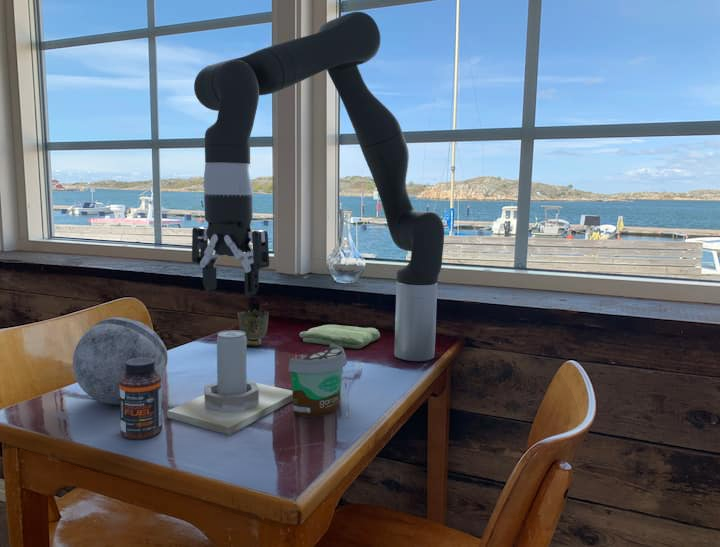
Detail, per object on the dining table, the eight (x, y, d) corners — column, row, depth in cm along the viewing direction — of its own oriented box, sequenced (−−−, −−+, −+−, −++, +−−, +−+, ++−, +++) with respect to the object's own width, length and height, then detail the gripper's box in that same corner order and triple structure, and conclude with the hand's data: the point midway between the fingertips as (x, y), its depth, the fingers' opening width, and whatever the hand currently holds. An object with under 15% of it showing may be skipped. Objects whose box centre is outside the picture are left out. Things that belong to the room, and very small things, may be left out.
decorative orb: (182, 391, 102) (180, 311, 100) (135, 422, 88) (132, 330, 86) (110, 384, 105) (107, 306, 103) (54, 413, 91) (49, 324, 89)
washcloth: (322, 331, 151) (322, 320, 150) (382, 340, 143) (382, 327, 143) (296, 342, 139) (296, 330, 139) (360, 352, 132) (360, 339, 131)
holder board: (240, 385, 106) (240, 366, 106) (296, 398, 100) (296, 378, 100) (167, 417, 90) (167, 395, 90) (229, 435, 84) (229, 411, 84)
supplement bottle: (120, 443, 81) (117, 368, 79) (120, 427, 86) (117, 357, 85) (164, 437, 83) (162, 364, 82) (161, 422, 89) (159, 353, 87)
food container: (318, 426, 88) (319, 365, 87) (288, 417, 92) (288, 358, 90) (359, 402, 99) (360, 348, 97) (331, 395, 102) (331, 342, 100)
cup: (275, 344, 136) (275, 312, 135) (254, 350, 130) (254, 317, 128) (252, 339, 140) (252, 308, 139) (231, 345, 133) (230, 313, 132)
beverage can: (239, 408, 92) (239, 338, 90) (212, 406, 92) (211, 335, 91) (251, 398, 96) (250, 331, 95) (225, 396, 97) (224, 329, 95)
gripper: (278, 193, 89) (279, 292, 92) (211, 192, 96) (213, 285, 98) (248, 193, 83) (249, 300, 85) (178, 191, 89) (181, 291, 92)
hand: (230, 292), depth 92 cm, fingers open, 8 cm apart
